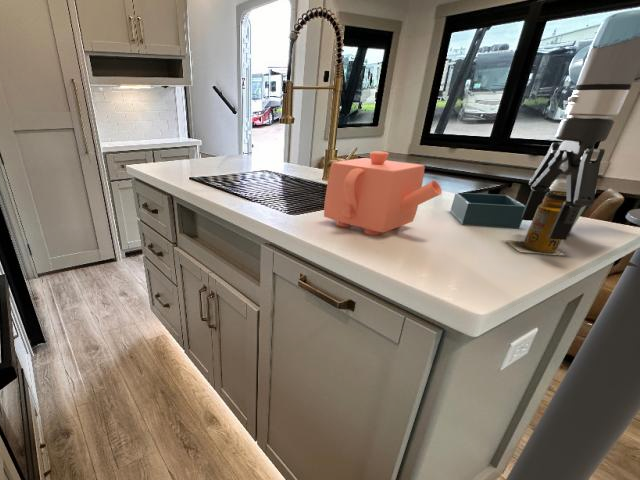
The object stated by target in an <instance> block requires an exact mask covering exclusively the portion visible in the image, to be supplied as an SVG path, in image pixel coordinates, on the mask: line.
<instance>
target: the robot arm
mask: <svg viewBox="0 0 640 480" xmlns="http://www.w3.org/2000/svg"><path fill="white" fill-rule="evenodd" d="M568 74H569V78H570V80H571V82H572V83H574V84H575V86H574V89H573V92H572V94H571V96H569V97H568V99H567V102H568V104H567V107H566V109H565V112H564V114H565V115H566V116H567V117H565V118H563V119H561V121H560V123H559V126H558V128H557V131H556V133H555V139H556V140H559V141H562V142H552V143H551V145H550V147H549V148H548V151H547V153H546V154H545V156H544V158H543V160H542V161H541V162H540V164H539V165H538V167H537V168H536V170H535V171H534V173H533V175H532V176H531V177H530V179H529V181H528V186H530V189H531V190H530V194H529V196H528V199H527V201H526V203H525V209H524V211H523V214H522V216H521V220H522V221H529V222H530V221H531V222H532V220H533V218H534V215H535V213H536V210H537V208H538V206H539V205H540V204H541V203H542V202H543V199H544V197H545V194H546V193H547V192H549V190H550V188H549V187H550V186H551V185H552V184H553V183H554V181H555V180H556V179H558V177H560V175H562V173H563V174H564V175H566V179H567V197H566V202H564V203H563V204H562V207H561V209H560V212H559V214H558V216H557V218H556V221H555V223H554V225H553V227H552V230H551V232H550V234H549V236H548V238H549V239H560V240H561V241H566V240H567V238H568V236H569V234H570V233H571V231H572V229H573V228H572V226H573V223H574V221H575V219H576V217H577V215H578V213H579V211H580V209H581V208H582V207H584V206H586V207H591V206H592V205H593V204H594V202H595V197H596V193H595V191H596V192H597V190H596V189H597V184H598V179H599V172H600V168H601V162H602V160H603V157H604V155H605V153H606V149H604V148H595V144H596V143H602V142H605V141H606V140H607V139H608V138H609V135H610V134H611V133H610V132H611V131H612V129H613V126H614V125H615V120H614V119H613V117H615V116H618V115H619V113H620V112H621V109H622V107H623V105H624V103H625V100H626V98H627V96H628V94H629V92H630V90H631V87H632V85H633V84H634V83H640V9H633V10H626V11H620V12H616V13H613V14H611V15H609V16H607V17H606V18H605V19H603V21H602V22H601V24H600V26H599V27H598V29H597V32H596V33H595V36H594V38H593V40H592V42H591V44H588V45H586V46H584V47H583V48H581V49H580V50H579V51H578V52H577V53H576V54H575V55H574V57H573V58H572V60H571V62H570V63H569V68H568ZM586 197H587V199H586ZM573 227H574V226H573ZM571 228H572V229H571ZM570 230H571V231H570ZM569 232H570V233H569Z"/></svg>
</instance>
